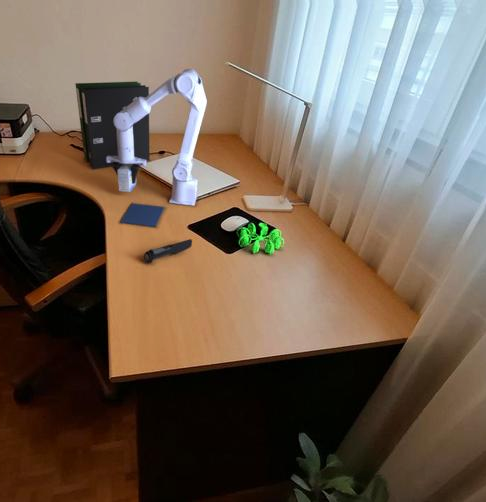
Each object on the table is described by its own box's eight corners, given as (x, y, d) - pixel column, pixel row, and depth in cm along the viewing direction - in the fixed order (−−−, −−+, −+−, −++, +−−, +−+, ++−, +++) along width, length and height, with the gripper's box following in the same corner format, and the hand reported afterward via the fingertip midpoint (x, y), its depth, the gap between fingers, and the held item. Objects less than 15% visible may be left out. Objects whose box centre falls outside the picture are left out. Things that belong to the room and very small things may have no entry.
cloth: (164, 207, 126) (164, 207, 126) (155, 227, 115) (155, 226, 115) (132, 204, 127) (132, 203, 127) (120, 222, 116) (120, 222, 116)
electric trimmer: (194, 250, 105) (195, 242, 103) (148, 264, 98) (148, 255, 96) (187, 244, 108) (188, 236, 106) (142, 258, 101) (142, 248, 99)
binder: (138, 151, 174) (136, 81, 155) (150, 161, 163) (150, 87, 145) (84, 158, 162) (75, 83, 144) (93, 169, 152) (84, 90, 134)
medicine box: (130, 192, 130) (128, 170, 125) (118, 191, 130) (116, 169, 125) (136, 184, 136) (135, 163, 131) (125, 183, 137) (124, 161, 132)
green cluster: (287, 238, 113) (291, 220, 109) (277, 262, 102) (282, 243, 98) (242, 226, 118) (245, 208, 114) (228, 249, 107) (231, 229, 103)
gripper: (148, 145, 126) (148, 179, 134) (109, 141, 128) (112, 176, 136) (143, 151, 121) (144, 187, 128) (103, 147, 122) (106, 183, 130)
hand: (127, 182), depth 132 cm, fingers closed on medicine box, 4 cm apart
